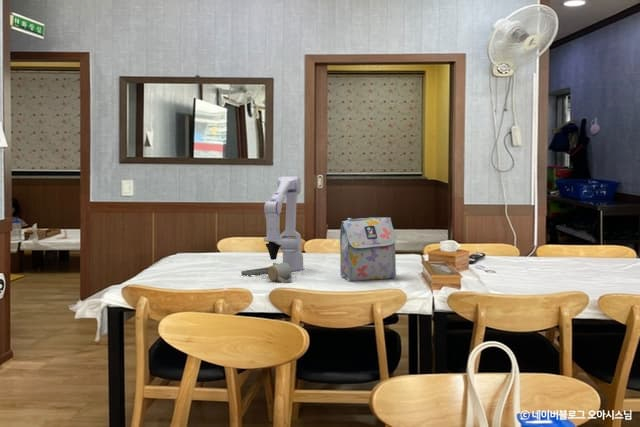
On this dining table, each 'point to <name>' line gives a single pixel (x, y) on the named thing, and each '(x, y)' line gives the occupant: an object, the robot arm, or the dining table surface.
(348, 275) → the lunch bag
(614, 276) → the dining table surface
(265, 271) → the grey open box
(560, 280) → the dining table surface
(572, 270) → the dining table surface
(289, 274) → the ceramic mug
